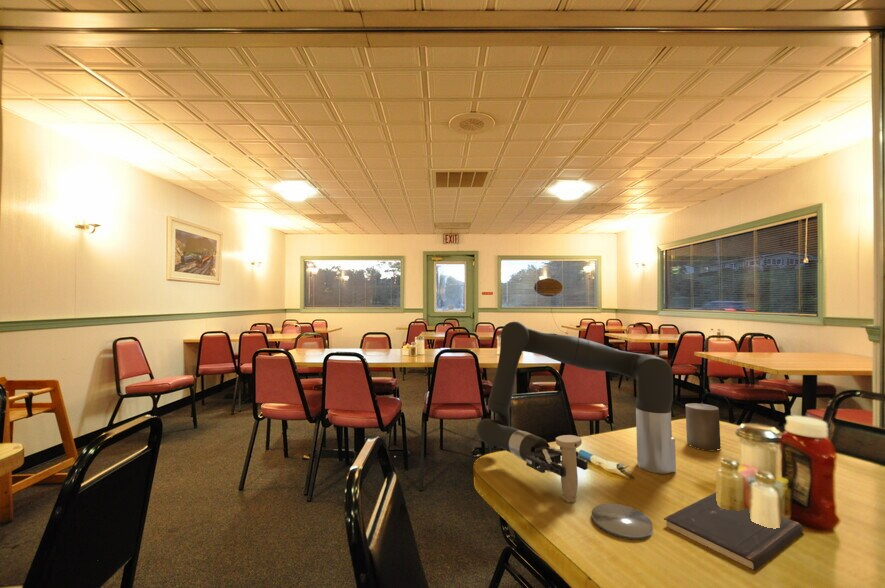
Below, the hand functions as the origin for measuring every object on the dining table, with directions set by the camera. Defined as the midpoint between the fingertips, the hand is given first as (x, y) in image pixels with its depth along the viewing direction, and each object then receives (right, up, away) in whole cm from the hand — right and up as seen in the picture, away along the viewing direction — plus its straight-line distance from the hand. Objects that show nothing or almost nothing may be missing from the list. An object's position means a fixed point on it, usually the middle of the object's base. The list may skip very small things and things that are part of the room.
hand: (575, 469), depth 89 cm
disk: (+7, -8, -8) cm, 14 cm away
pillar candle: (+58, -10, +37) cm, 70 cm away
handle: (-1, -9, +1) cm, 9 cm away
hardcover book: (+30, -9, -11) cm, 33 cm away
